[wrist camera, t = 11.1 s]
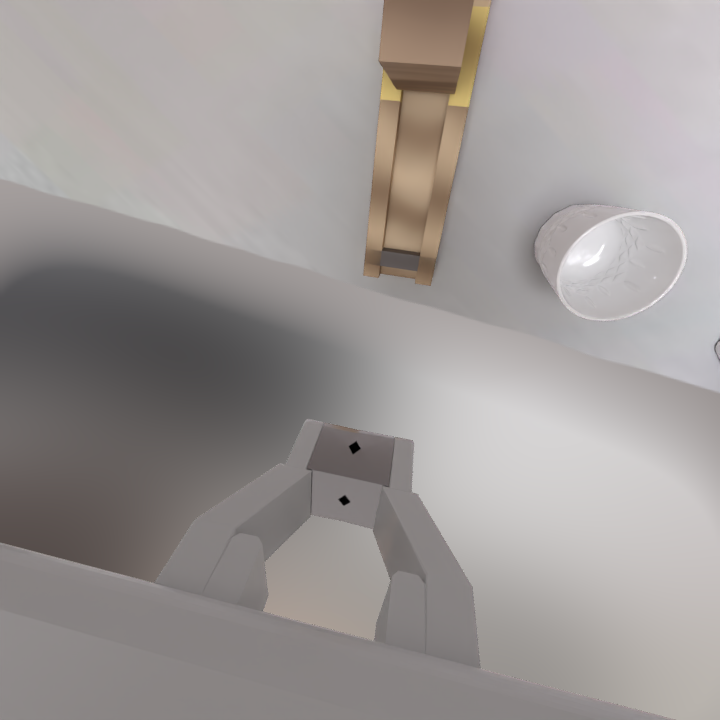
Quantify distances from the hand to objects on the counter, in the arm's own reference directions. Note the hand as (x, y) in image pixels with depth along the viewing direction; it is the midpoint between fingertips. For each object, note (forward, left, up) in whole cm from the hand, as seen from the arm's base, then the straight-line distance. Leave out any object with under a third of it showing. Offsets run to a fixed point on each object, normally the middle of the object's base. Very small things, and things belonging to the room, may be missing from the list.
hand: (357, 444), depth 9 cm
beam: (+7, -4, -30) cm, 31 cm away
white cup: (-7, -13, -30) cm, 34 cm away
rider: (+12, -7, -28) cm, 31 cm away
